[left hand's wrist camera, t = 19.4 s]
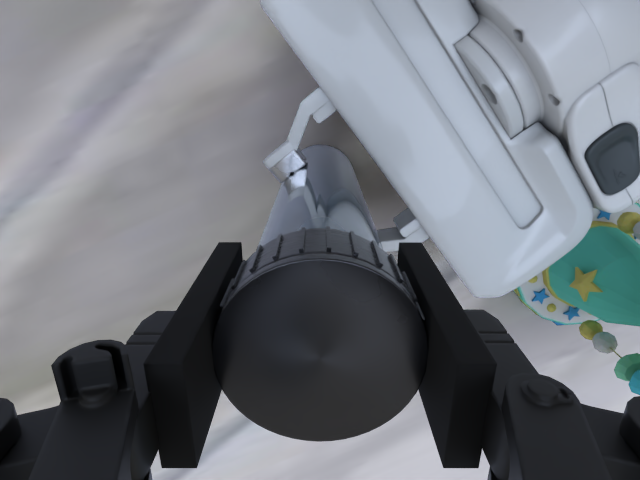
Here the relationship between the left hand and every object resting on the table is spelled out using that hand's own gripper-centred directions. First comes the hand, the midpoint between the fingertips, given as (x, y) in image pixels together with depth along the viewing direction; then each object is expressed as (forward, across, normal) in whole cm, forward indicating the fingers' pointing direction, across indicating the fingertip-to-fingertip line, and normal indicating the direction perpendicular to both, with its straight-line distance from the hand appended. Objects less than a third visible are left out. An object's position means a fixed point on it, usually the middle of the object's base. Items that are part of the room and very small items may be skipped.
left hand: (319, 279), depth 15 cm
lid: (-4, 0, 0) cm, 4 cm away
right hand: (+9, -1, -1) cm, 9 cm away
